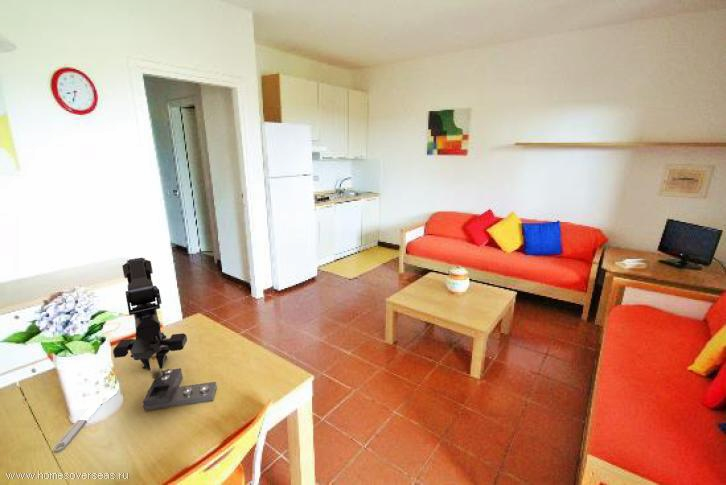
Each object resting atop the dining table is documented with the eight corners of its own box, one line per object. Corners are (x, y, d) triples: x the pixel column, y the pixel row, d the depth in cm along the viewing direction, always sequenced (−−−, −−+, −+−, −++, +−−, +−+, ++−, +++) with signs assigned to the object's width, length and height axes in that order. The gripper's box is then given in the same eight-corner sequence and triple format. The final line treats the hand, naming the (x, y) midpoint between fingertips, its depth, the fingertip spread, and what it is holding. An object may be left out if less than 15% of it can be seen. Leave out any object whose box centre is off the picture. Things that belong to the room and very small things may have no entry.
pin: (152, 372, 109) (147, 347, 107) (166, 370, 110) (161, 346, 108) (147, 380, 106) (142, 355, 103) (162, 378, 107) (157, 353, 104)
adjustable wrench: (63, 454, 92) (61, 449, 92) (38, 455, 92) (36, 449, 91) (121, 389, 116) (120, 385, 116) (102, 390, 116) (101, 386, 115)
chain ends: (159, 381, 120) (157, 369, 119) (220, 373, 124) (218, 361, 123) (143, 412, 106) (140, 399, 105) (212, 401, 110) (210, 389, 109)
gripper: (98, 342, 93) (110, 390, 98) (173, 334, 98) (181, 380, 102) (117, 322, 104) (126, 367, 108) (184, 315, 108) (190, 359, 112)
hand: (155, 368), depth 107 cm, fingers closed on pin, 3 cm apart
